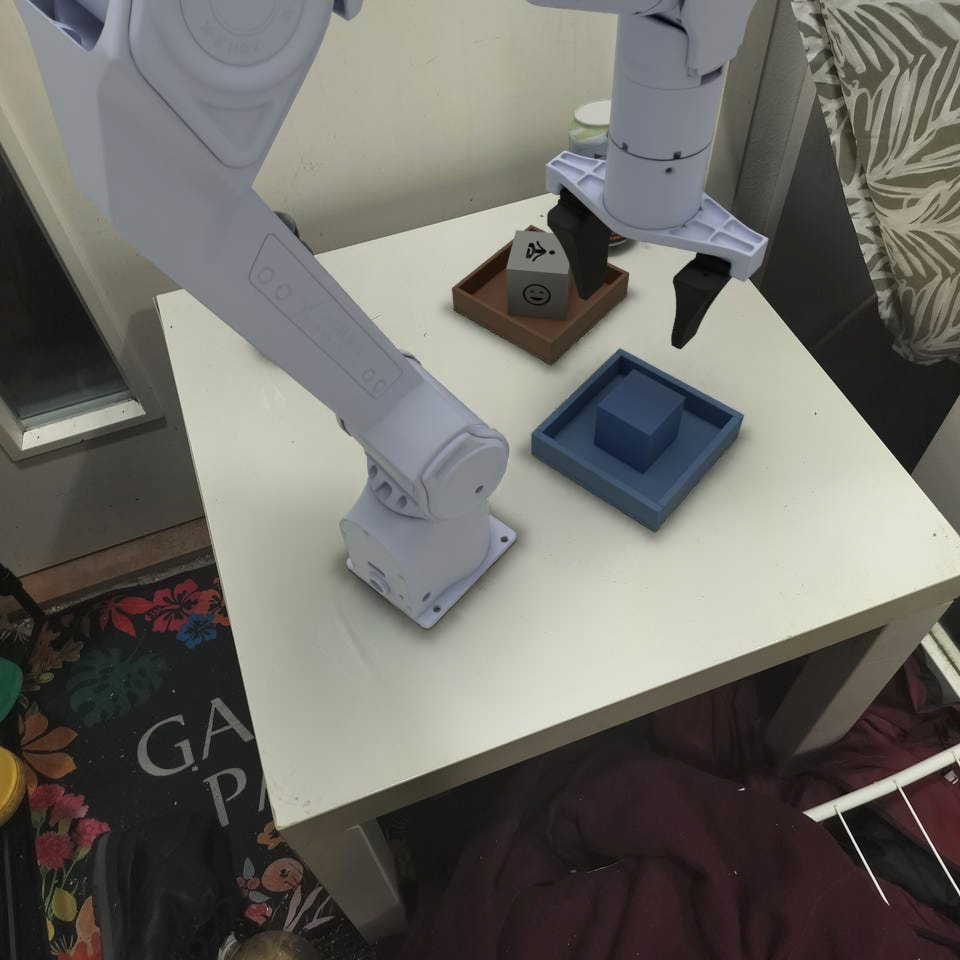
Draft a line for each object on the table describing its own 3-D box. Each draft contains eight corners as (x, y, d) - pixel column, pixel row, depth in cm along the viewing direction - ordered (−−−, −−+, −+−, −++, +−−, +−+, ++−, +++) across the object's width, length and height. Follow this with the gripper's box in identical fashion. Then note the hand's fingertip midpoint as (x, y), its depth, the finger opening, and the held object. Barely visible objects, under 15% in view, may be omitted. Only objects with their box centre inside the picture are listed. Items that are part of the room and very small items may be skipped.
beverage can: (604, 266, 76) (614, 145, 66) (549, 228, 80) (552, 109, 70) (653, 235, 78) (670, 114, 69) (597, 200, 82) (606, 81, 72)
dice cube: (517, 276, 75) (516, 230, 71) (572, 281, 74) (575, 234, 70) (507, 314, 72) (506, 268, 68) (565, 320, 72) (567, 274, 67)
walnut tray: (550, 365, 69) (551, 343, 67) (453, 310, 74) (451, 288, 72) (627, 294, 74) (629, 272, 72) (531, 246, 78) (531, 224, 76)
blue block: (643, 474, 62) (650, 435, 58) (593, 444, 64) (597, 405, 60) (677, 437, 64) (686, 397, 60) (627, 408, 65) (633, 368, 62)
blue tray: (654, 532, 59) (659, 512, 57) (530, 453, 64) (530, 433, 62) (738, 435, 64) (744, 414, 62) (617, 369, 69) (619, 347, 67)
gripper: (816, 142, 45) (761, 327, 56) (597, 61, 51) (585, 243, 62) (748, 207, 42) (703, 389, 53) (523, 112, 48) (525, 294, 59)
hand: (636, 314), depth 57 cm, fingers open, 7 cm apart
